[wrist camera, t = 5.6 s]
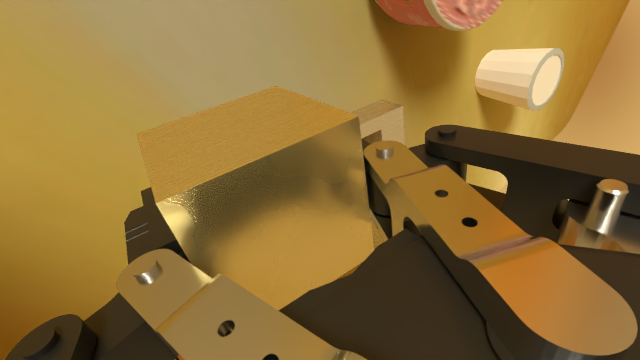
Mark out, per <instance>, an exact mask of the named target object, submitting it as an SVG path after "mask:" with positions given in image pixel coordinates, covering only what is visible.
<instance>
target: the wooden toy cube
mask: <svg viewBox="0 0 640 360" xmlns="http://www.w3.org/2000/svg"><path fill="white" fill-rule="evenodd" d="M137 138H138V141H139V145H140V148H141V152H142V156H143V159H144V163H145V167H146V170H147V174H148V177H149V181H150V185H151V188H152V192H153V195H154V199H155V203H156V205H157V207H158V208H159V210H160V212H161V213H162V215H163V217H164V219H165V220H166V222H167V224H168V225H169V227H170V229H171V231H172V232H173V234H174V236H175V237H176V239H177V241H178V242H179V244H180V246H181V248H182V249H183V251H184V253H185V254H186V256H187V258H188V260H189V261H190V263H191V264H192V265H193V266H195V267H196V268H198V269H199V270H201V271H202V272H204V273H205V274H206V275H208V276H209V277H211V278H212V279H213V278H214V277H215V276H216V275H217V274H223V275H225V276H226V277H228V278H229V279H231V280H232V281H234V282H236V283H237V284H239V285H240V286H242V287H243V288H245V289H246V290H248V291H249V292H251V293H252V294H254V295H255V296H257V297H258V298H260V299H261V300H263V301H264V302H266V303H267V304H269V305H270V306H272V307H273V308H275V309H277V310H278V311H279V310H280V309H282V308H283V307H285V306H286V305H288V304H289V303H291V302H292V301H294V300H296V299H297V298H299V297H300V296H302V295H303V294H305V293H306V292H308V291H309V290H312V289H315V288H317V287H320V286H323V285H325V284H328V283H331V282H333V281H334V280H336V279H337V278H339V277H340V276H342V275H343V274H345V273H346V272H348V271H349V270H351V269H353V268H354V267H356V266H357V265H359V264H360V263H362V262H363V261H365V260H366V258H367V257H368V256H369V255H370V254H371V253H372V252H373V251H374V244H373V235H372V226H371V218H370V209H369V201H368V192H367V183H366V175H365V166H364V157H363V149H362V140H361V131H360V123H359V116H357V115H354V114H352V113H349V112H346V111H343V110H341V109H338V108H335V107H332V106H330V105H327V104H324V103H322V102H319V101H316V100H313V99H311V98H308V97H305V96H303V95H300V94H297V93H294V92H292V91H289V90H286V89H283V88H281V87H278V86H274V87H271V88H269V89H266V90H263V91H260V92H257V93H254V94H251V95H248V96H245V97H242V98H239V99H237V100H234V101H231V102H228V103H225V104H222V105H219V106H216V107H213V108H210V109H207V110H205V111H202V112H199V113H196V114H193V115H190V116H187V117H184V118H181V119H178V120H175V121H172V122H170V123H167V124H164V125H161V126H158V127H155V128H152V129H149V130H146V131H143V132H140V133H138V134H137Z"/></svg>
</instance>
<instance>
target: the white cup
mask: <svg viewBox="0 0 640 360" xmlns="http://www.w3.org/2000/svg"><path fill="white" fill-rule="evenodd" d="M563 68H564V54H563V52H562V51H561V49H558V48H546V49H513V50H492V51H491V52H489V53H487V54H486V56H485V57H484V58H483V59H482V61H481V63H480V65H479V67H478V69H477V73H476V77H475V87H476V90H477V92H478V93H479V94H480V95H482V96H485V97H489V98H492V99H495V100H499V101H502V102H505V103H508V104H512V105H515V106H518V107H522V108H525V109H528V110H531V111H536V110H540V109H541V108H542V107H544V106H545V105H546V104H547V103H548V101H549V100H550V99H551V98H552V96H553V94H554V92H555V91H556V89H557V87H558V85H559V82H560V79H561V76H562V73H563Z"/></svg>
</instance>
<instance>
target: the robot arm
mask: <svg viewBox="0 0 640 360" xmlns="http://www.w3.org/2000/svg"><path fill="white" fill-rule="evenodd" d="M361 140H362V139H361ZM362 149H363V157H364V166H365V175H366V183H367V192H368V201H369V208H370V213H371V219H372V221H373V223H374V225H375V226H376V228H377V230H378V232H379V234H380V235H381V237H382V239H383V241H384V243H382V244H381V245H379V246H378V247H377V248H376V249H375V250H374V251H373V252H372V253H371V254H370V255H369V256H368V257H367V258H366V260H365V261H364V262H363V263H362V264H361V265H360V266H359V267H358V268H357V269H356V270H355V272H353V273H352V274H351V275H349V276H346V277H344V278H341V279H338V280H336V281H333V282H331V283H328V284H325V285H323V286H320V287H317V288H315V289H312V290H309V291H308V292H306V293H305V294H303V295H302V296H300V297H299V298H297V299H296V300H294V301H292V302H291V303H289V304H288V305H286V306H285V307H283V308H282V309H280V310H279V311H278V310H277V309H275V308H273V307H272V306H270V305H269V304H267V303H266V302H264V301H263V300H261V299H260V298H258V297H257V296H255V295H254V294H252V293H251V292H249V291H248V290H246V289H245V288H243V287H242V286H240V285H239V284H237V283H236V282H234V281H232V280H231V279H229V278H228V277H226V276H225V275H223V274H217V275H216V276H215V277H214V278H213V279H212V278H211V277H209V276H208V275H206V274H205V273H204V272H202V271H201V270H199V269H198V268H196V267H195V266H193V265H192V264H191V263H190V261H189V260H188V258H187V256H186V254H185V253H184V251H183V249H182V248H181V246H180V244H179V242H178V241H177V239H176V237H175V236H174V234H173V232H172V231H171V229H170V227H169V225H168V224H167V222H166V220H165V219H164V217H163V215H162V213H161V212H160V210H159V208H158V207H157V205H156V203H155V199H154V195H153V192H152V188H151V187H150V188H147V189H145V190H143V191H141V195H142V200H143V205H144V206H142V207H140V208H138V209H135V210H133V211H131V212H130V214H129V215H128V217H127V219H126V221H125V222H124V224H125V232H126V240H127V242H126V245H127V255H128V266H127V267H126V268H125V269H124V270H123V271H122V272H121V274H120V275H119V277H118V279H117V282H116V288H117V290H118V292H119V293H118V294H117V295H116V296H115V297H114V298H113V299H112V300H111V301H110V302H108V303H107V304H106V305H105V306H103V307H102V308H101V309H99V310H98V311H97V312H95V313H94V314H93V315H91V316H90V317H89V318H87V319H86V320H85V321H83V320H82V319H81V318H80V317H78V316H77V315H73V314H68V315H62V316H59V317H56V318H54V319H51V320H49V321H47V322H45V323H43V324H42V325H40V326H39V327H37V328H36V329H34V330H33V331H31V332H30V333H29V334H28V335H26V336H25V337H24V338H23V339H22V340H21V341H20V342H19V343H18V344H17V345H16V346H15V347H14V348H13V349H12V351H11V352H10V353H9V355H8V356H7V358H6V359H5V360H640V155H637V154H630V153H624V152H618V151H612V150H606V149H600V148H594V147H587V146H581V145H575V144H569V143H563V142H556V141H550V140H544V139H538V138H532V137H525V136H519V135H513V134H507V133H501V132H494V131H488V130H482V129H476V128H470V127H463V126H457V125H440V126H435V127H432V128H430V129H429V130H427V131H426V133H425V144H422V145H419V146H415V147H411V148H407V147H406V146H405V145H404V144H402V143H400V142H397V141H388V140H387V141H379V142H375V143H372V144H370V143H368V142H366V141H364V140H362ZM467 164H469V165H473V166H478V167H482V168H486V169H490V170H494V171H498V172H500V173H502V174H503V175H504V176H505V177H506V178H507V181H508V187H507V192H506V194H504V193H500V192H497V191H493V190H490V189H486V188H483V187H479V186H475V185H472V184H468V183H467V182H466V173H467ZM567 199H569V201H568V200H567Z"/></svg>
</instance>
